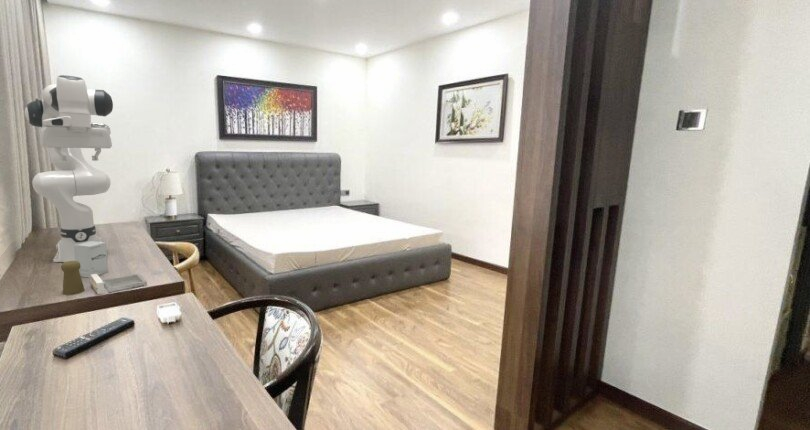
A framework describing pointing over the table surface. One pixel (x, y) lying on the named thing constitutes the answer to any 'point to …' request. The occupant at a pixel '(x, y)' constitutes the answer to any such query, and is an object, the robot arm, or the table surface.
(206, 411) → the table surface
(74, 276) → the cork
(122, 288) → the grey square tray
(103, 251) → the supplement box
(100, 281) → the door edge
